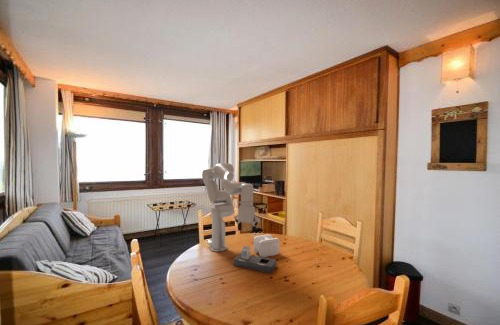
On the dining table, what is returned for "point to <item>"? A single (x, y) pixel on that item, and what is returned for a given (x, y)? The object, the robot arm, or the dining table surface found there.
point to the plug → (246, 252)
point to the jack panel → (256, 263)
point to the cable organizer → (266, 245)
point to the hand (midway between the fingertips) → (246, 231)
